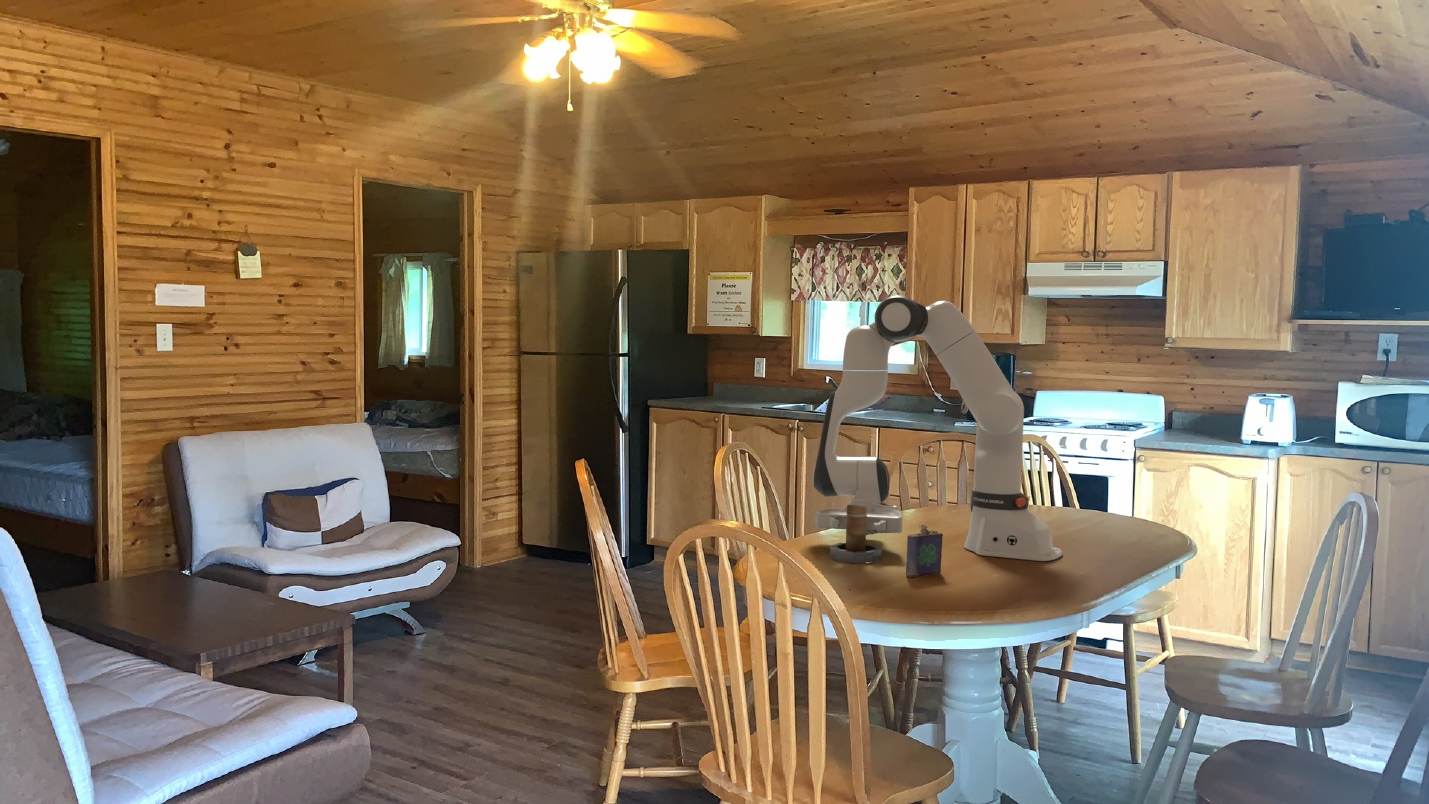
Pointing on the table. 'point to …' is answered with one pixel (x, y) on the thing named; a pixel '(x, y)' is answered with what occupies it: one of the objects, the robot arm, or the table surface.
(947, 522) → the table surface
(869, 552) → the ring
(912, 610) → the table surface
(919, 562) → the flask
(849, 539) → the brown wooden cylinder
